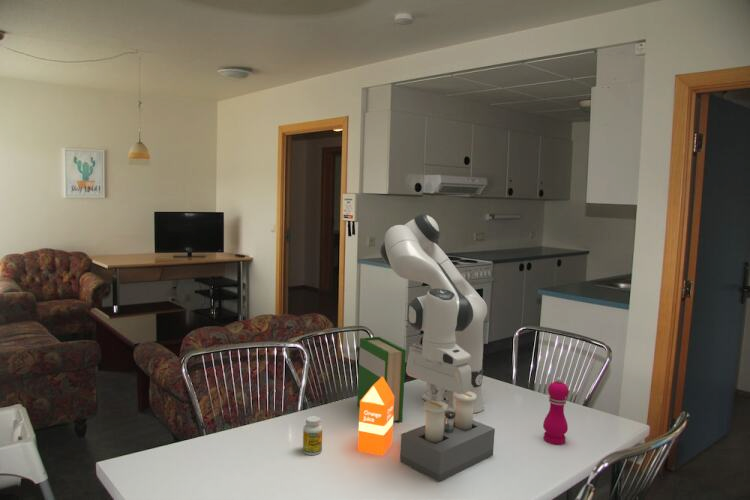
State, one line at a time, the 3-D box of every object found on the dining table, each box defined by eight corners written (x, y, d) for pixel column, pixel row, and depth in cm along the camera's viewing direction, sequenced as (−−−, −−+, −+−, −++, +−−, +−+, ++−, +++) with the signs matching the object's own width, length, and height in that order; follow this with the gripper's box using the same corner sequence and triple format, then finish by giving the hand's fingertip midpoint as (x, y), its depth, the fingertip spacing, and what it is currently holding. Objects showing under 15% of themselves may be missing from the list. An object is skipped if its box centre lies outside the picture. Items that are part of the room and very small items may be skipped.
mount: (399, 461, 156) (401, 434, 155) (454, 438, 172) (456, 413, 172) (439, 482, 146) (440, 452, 145) (493, 455, 162) (494, 428, 162)
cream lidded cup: (447, 427, 163) (449, 392, 162) (461, 421, 167) (463, 388, 166) (465, 434, 158) (467, 399, 157) (478, 428, 163) (481, 394, 162)
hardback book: (402, 422, 183) (405, 350, 181) (382, 425, 180) (385, 352, 177) (376, 403, 199) (379, 336, 196) (357, 406, 195) (360, 338, 193)
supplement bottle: (317, 445, 164) (318, 413, 163) (324, 453, 159) (325, 420, 158) (299, 449, 161) (300, 416, 160) (306, 457, 156) (307, 423, 155)
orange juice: (392, 443, 167) (395, 377, 165) (383, 455, 159) (386, 387, 157) (367, 438, 170) (370, 373, 168) (357, 450, 162) (360, 382, 160)
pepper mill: (568, 446, 170) (573, 382, 168) (543, 443, 172) (548, 379, 170) (565, 436, 177) (570, 375, 175) (541, 434, 179) (545, 372, 177)
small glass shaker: (441, 430, 158) (442, 412, 158) (448, 428, 160) (449, 410, 160) (449, 434, 156) (450, 416, 156) (456, 431, 158) (457, 413, 158)
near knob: (417, 439, 154) (419, 402, 153) (432, 433, 158) (434, 397, 157) (435, 447, 149) (437, 409, 148) (450, 441, 154) (452, 404, 153)
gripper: (402, 343, 157) (399, 391, 158) (461, 361, 142) (457, 414, 143) (417, 340, 161) (415, 387, 163) (476, 357, 146) (473, 408, 148)
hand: (435, 400), depth 153 cm, fingers closed
